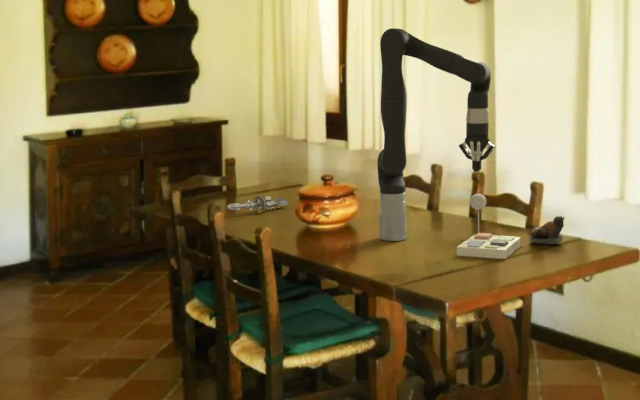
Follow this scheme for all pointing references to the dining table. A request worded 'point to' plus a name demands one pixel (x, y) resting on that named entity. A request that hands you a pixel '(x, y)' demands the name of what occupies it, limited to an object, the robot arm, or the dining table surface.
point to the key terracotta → (483, 236)
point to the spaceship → (262, 203)
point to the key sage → (506, 238)
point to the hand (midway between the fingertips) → (476, 171)
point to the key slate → (476, 242)
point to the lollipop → (478, 203)
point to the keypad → (488, 248)
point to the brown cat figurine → (548, 232)
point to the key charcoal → (499, 242)
